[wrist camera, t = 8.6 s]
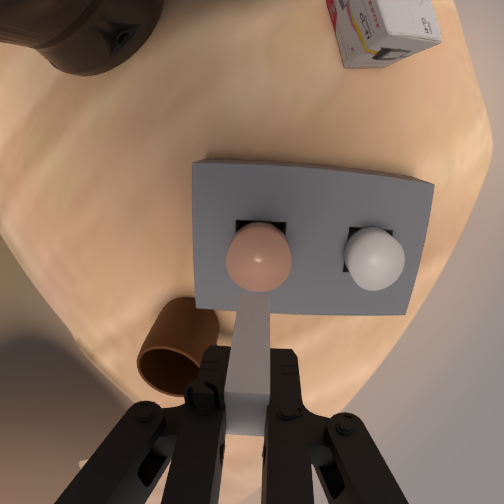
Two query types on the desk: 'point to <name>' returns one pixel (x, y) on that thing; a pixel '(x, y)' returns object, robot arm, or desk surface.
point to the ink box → (382, 30)
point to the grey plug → (373, 257)
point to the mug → (177, 346)
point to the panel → (306, 231)
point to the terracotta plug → (259, 257)
